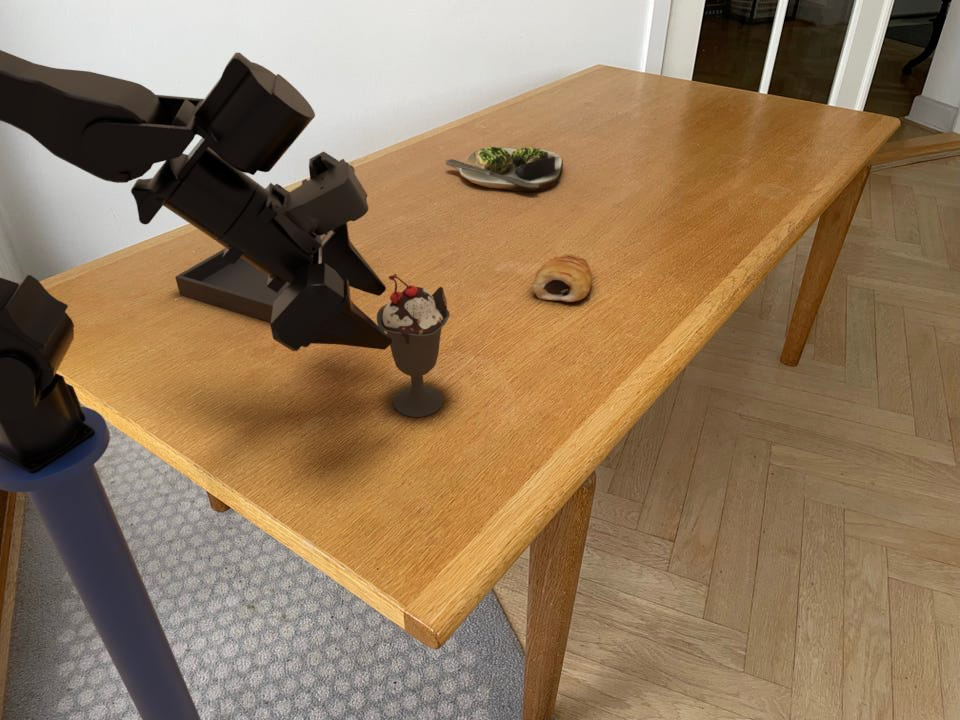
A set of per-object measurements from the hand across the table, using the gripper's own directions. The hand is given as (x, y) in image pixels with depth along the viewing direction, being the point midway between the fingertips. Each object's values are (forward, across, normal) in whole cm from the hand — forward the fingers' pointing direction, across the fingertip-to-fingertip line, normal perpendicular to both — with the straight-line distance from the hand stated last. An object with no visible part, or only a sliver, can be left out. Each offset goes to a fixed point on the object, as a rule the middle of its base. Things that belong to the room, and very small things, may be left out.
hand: (385, 316), depth 66 cm
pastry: (+23, +20, -8) cm, 32 cm away
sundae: (+9, 0, +6) cm, 11 cm away
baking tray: (-3, +27, +17) cm, 32 cm away
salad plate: (+24, +58, -10) cm, 64 cm away
